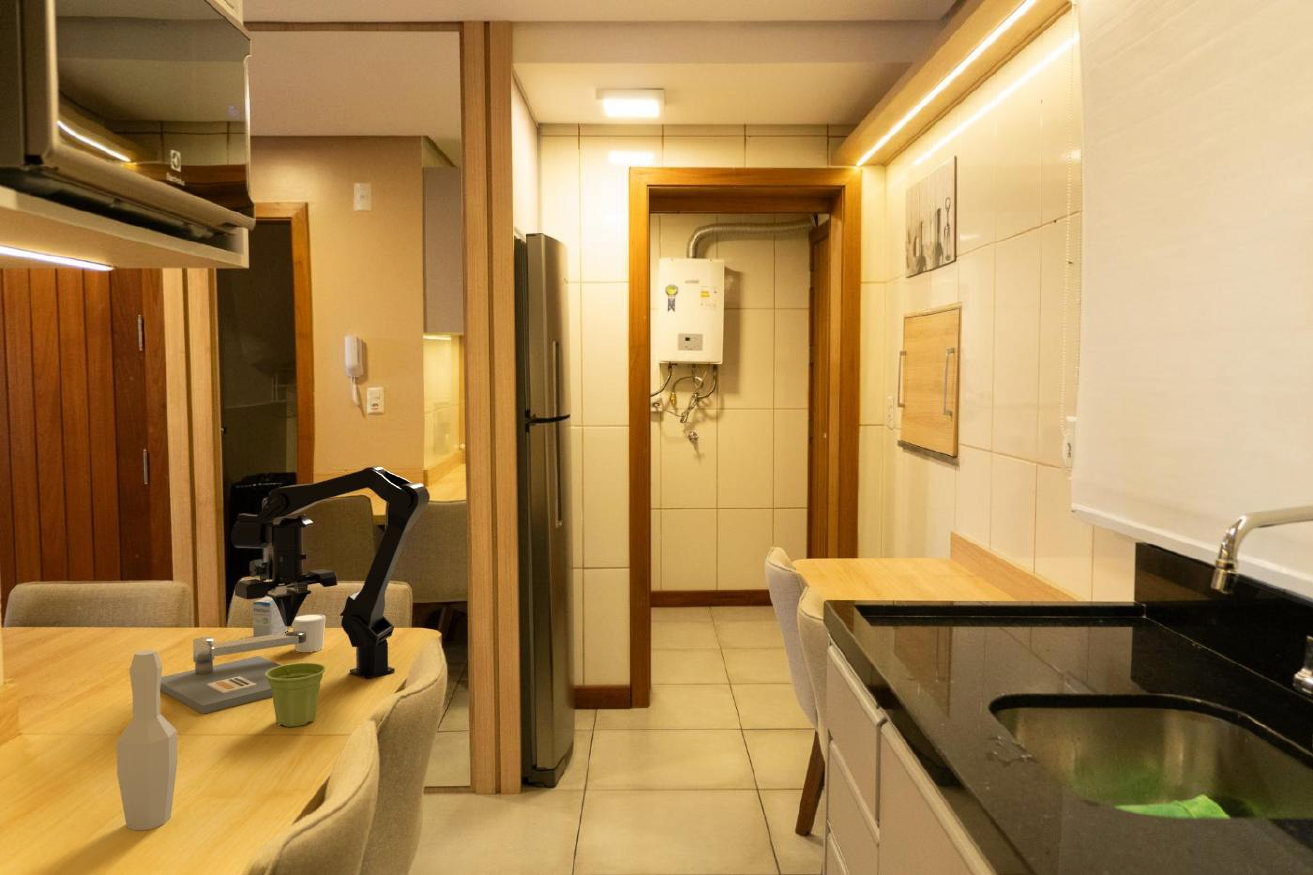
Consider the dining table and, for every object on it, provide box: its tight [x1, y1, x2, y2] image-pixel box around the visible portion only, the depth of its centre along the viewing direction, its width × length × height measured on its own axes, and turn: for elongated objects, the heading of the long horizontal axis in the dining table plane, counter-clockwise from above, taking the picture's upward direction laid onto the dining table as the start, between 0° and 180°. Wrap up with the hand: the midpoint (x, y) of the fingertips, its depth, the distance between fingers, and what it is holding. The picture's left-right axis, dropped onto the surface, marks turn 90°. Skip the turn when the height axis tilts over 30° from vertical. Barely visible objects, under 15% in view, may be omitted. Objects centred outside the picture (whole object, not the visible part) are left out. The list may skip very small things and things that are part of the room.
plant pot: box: [265, 662, 326, 728], centre depth 148 cm, size 9×9×9 cm
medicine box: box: [252, 596, 291, 638], centre depth 202 cm, size 8×4×9 cm, turn 172°
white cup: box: [291, 613, 326, 653], centre depth 191 cm, size 7×7×7 cm
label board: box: [160, 655, 282, 715], centre depth 166 cm, size 22×20×4 cm
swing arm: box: [192, 631, 306, 663], centre depth 175 cm, size 21×4×4 cm, turn 127°
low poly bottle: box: [116, 649, 178, 831], centre depth 112 cm, size 6×6×22 cm
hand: (288, 626), depth 176 cm, fingers closed
